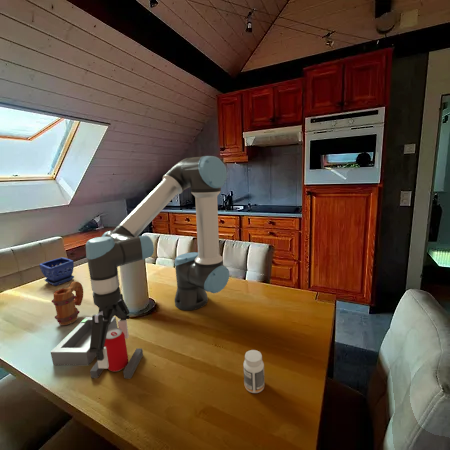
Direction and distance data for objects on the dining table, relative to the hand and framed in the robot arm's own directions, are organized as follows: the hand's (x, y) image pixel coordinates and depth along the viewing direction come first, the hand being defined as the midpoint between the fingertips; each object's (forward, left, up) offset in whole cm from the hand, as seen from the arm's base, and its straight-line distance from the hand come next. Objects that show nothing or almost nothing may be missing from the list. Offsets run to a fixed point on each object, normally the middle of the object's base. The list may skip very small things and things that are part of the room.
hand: (114, 351), depth 82 cm
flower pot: (+66, -65, -6) cm, 93 cm away
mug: (+33, -27, -6) cm, 43 cm away
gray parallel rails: (0, 0, -6) cm, 6 cm away
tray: (+16, -10, -6) cm, 20 cm away
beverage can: (0, 0, -6) cm, 6 cm away
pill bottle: (-43, +7, -6) cm, 44 cm away
